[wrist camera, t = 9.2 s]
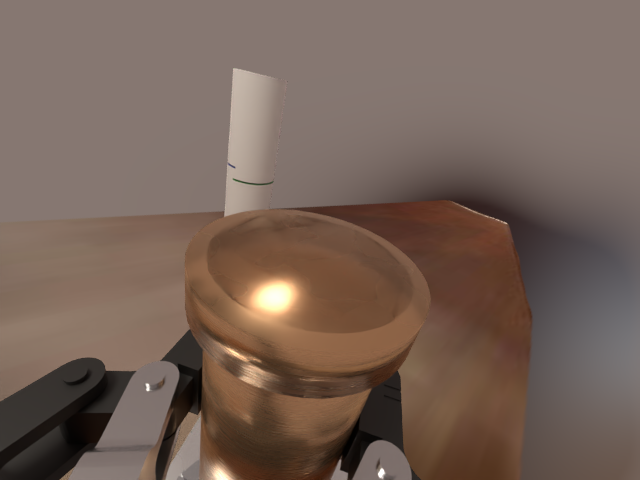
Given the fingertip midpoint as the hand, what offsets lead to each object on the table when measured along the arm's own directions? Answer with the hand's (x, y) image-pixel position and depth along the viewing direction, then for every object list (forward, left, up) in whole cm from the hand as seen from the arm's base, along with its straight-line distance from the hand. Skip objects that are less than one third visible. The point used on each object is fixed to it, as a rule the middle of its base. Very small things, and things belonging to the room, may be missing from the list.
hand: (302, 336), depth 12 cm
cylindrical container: (-17, +32, -16) cm, 40 cm away
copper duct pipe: (0, -3, -7) cm, 7 cm away
